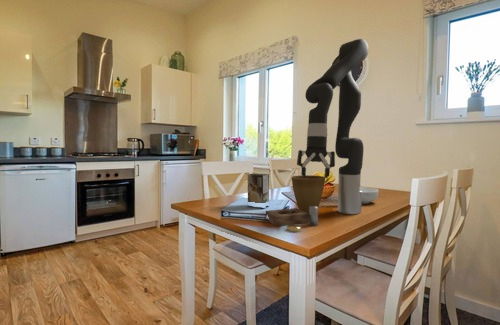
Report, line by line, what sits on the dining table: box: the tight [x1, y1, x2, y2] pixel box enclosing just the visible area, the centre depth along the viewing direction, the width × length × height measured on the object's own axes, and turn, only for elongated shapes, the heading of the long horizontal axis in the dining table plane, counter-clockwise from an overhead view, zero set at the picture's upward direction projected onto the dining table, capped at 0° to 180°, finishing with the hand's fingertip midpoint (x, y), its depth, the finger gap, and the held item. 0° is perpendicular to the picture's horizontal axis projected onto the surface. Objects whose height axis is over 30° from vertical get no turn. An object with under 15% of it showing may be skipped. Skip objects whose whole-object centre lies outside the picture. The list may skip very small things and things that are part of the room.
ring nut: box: [286, 224, 303, 233], centre depth 98 cm, size 5×5×2 cm
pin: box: [308, 206, 319, 227], centre depth 104 cm, size 3×3×7 cm
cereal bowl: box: [360, 186, 379, 205], centre depth 145 cm, size 17×17×7 cm
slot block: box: [265, 207, 309, 227], centre depth 109 cm, size 14×10×4 cm
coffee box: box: [247, 172, 270, 203], centre depth 133 cm, size 9×6×16 cm
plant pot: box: [290, 174, 326, 213], centre depth 123 cm, size 15×15×16 cm
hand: (315, 177), depth 107 cm, fingers open, 8 cm apart
